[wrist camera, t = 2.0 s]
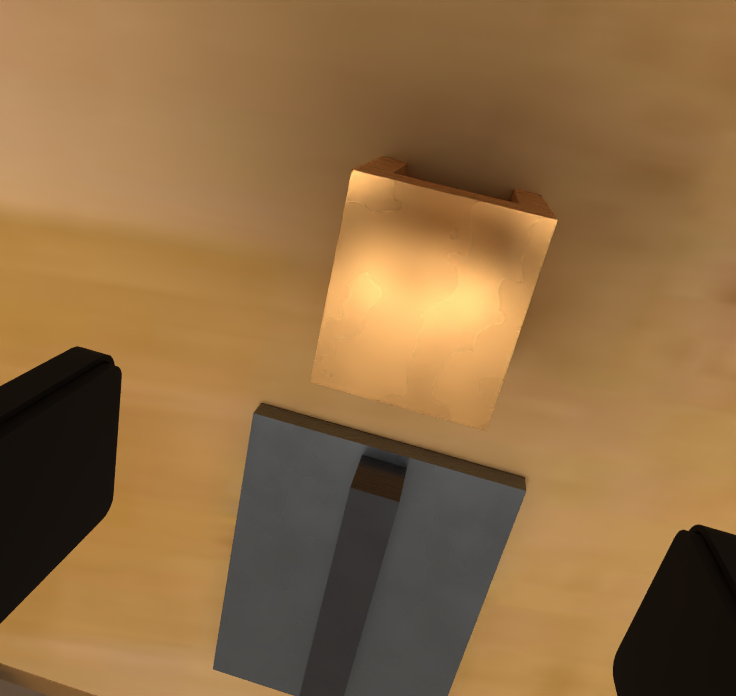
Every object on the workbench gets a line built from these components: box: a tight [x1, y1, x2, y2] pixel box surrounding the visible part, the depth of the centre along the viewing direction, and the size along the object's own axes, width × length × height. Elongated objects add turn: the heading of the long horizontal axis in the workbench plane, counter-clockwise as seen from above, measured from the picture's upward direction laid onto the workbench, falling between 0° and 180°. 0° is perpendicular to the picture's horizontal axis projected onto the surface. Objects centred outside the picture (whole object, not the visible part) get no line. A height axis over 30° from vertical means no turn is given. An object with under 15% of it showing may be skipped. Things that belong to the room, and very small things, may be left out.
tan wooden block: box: [310, 157, 557, 431], centre depth 21 cm, size 7×6×6 cm
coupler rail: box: [213, 403, 526, 696], centre depth 28 cm, size 16×12×4 cm
